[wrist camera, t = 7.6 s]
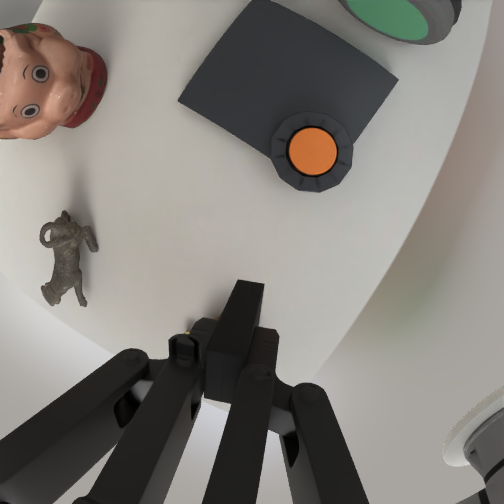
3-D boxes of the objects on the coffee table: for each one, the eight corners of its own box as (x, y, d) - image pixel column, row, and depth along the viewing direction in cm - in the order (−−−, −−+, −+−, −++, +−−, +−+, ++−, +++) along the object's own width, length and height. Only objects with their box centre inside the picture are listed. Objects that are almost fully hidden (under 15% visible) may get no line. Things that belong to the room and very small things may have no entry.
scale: (399, 88, 22) (412, 81, 19) (318, 201, 27) (321, 207, 24) (259, 2, 21) (254, -14, 18) (180, 110, 26) (165, 105, 23)
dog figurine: (68, 202, 31) (24, 216, 24) (103, 216, 31) (60, 234, 24) (62, 286, 35) (27, 310, 28) (93, 303, 35) (60, 332, 28)
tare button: (342, 147, 22) (346, 146, 21) (317, 182, 23) (318, 184, 22) (306, 120, 22) (306, 118, 21) (280, 156, 23) (279, 156, 22)
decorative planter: (13, 122, 28) (-64, 128, 15) (39, 40, 24) (-36, 24, 11) (112, 155, 28) (12, 167, 15) (151, 47, 24) (65, 1, 11)
